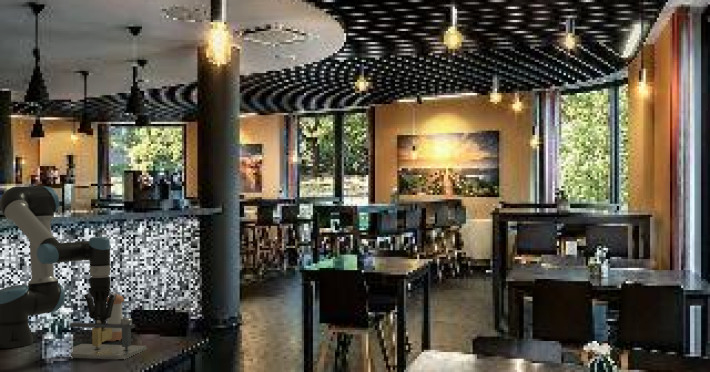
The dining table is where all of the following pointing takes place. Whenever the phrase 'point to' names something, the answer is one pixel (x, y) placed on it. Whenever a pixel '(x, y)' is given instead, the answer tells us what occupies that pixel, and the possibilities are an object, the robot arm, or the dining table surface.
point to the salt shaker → (116, 317)
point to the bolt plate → (105, 351)
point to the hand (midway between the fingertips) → (100, 336)
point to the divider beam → (125, 325)
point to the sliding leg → (100, 335)
